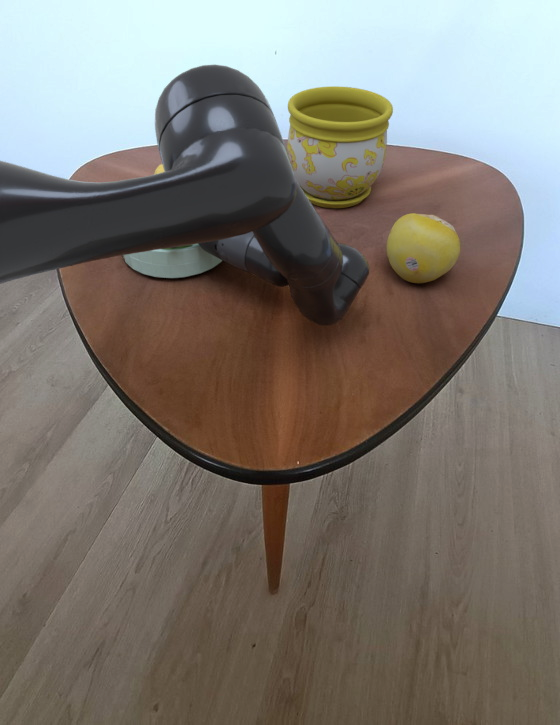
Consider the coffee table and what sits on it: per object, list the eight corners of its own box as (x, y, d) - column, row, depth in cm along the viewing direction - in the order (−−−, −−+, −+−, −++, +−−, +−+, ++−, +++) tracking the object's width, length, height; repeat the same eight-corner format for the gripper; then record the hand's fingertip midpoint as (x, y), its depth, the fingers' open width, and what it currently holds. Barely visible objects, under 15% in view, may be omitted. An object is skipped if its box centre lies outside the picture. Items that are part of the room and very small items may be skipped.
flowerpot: (269, 183, 108) (269, 95, 97) (345, 164, 115) (354, 80, 103) (316, 225, 97) (323, 131, 86) (399, 202, 103) (415, 112, 92)
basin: (102, 268, 87) (94, 237, 83) (157, 216, 98) (152, 187, 95) (201, 292, 83) (197, 261, 79) (245, 235, 94) (244, 206, 91)
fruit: (451, 298, 82) (468, 240, 76) (379, 288, 84) (389, 230, 77) (451, 261, 90) (467, 204, 83) (385, 252, 91) (394, 196, 84)
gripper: (271, 196, 80) (192, 162, 87) (199, 235, 72) (118, 194, 79) (271, 241, 85) (196, 205, 93) (203, 282, 77) (127, 239, 85)
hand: (160, 200), depth 86 cm, fingers open, 6 cm apart
